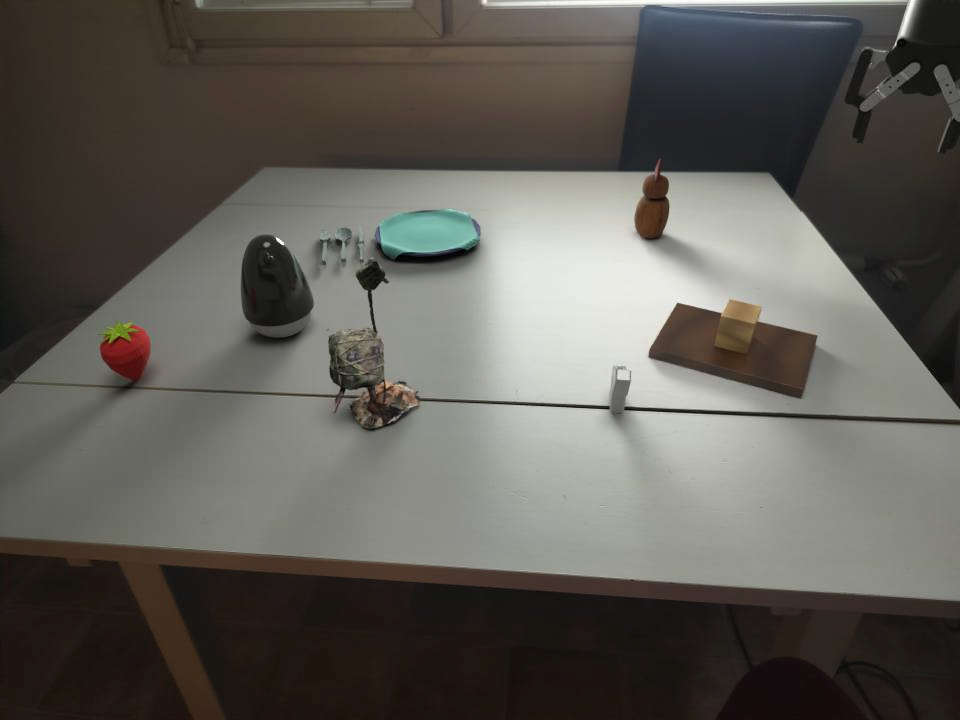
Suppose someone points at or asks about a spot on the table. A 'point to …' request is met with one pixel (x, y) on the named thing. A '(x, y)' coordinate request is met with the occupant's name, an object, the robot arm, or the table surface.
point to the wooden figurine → (653, 205)
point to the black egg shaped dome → (274, 288)
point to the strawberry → (126, 350)
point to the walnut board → (768, 364)
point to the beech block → (737, 326)
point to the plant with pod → (367, 365)
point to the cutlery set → (416, 234)
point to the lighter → (619, 388)
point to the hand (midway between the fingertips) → (899, 147)
